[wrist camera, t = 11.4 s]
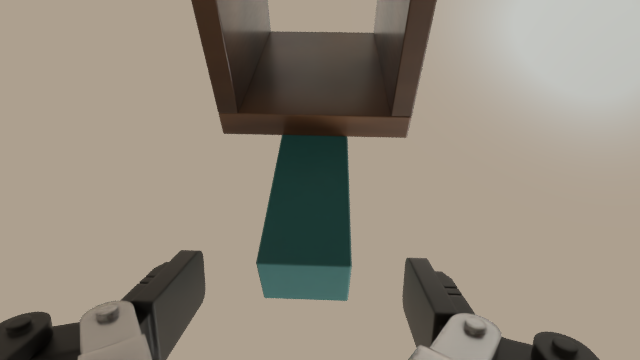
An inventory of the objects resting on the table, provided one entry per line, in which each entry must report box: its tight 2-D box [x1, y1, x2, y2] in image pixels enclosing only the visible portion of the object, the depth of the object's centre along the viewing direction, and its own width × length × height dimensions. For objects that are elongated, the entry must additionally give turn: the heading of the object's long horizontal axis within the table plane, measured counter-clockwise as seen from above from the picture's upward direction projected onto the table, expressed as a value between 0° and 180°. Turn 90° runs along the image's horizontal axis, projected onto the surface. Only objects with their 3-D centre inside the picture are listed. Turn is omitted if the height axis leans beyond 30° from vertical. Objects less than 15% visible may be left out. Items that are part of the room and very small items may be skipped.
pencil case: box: [256, 135, 352, 301], centre depth 23 cm, size 22×4×3 cm, turn 2°
